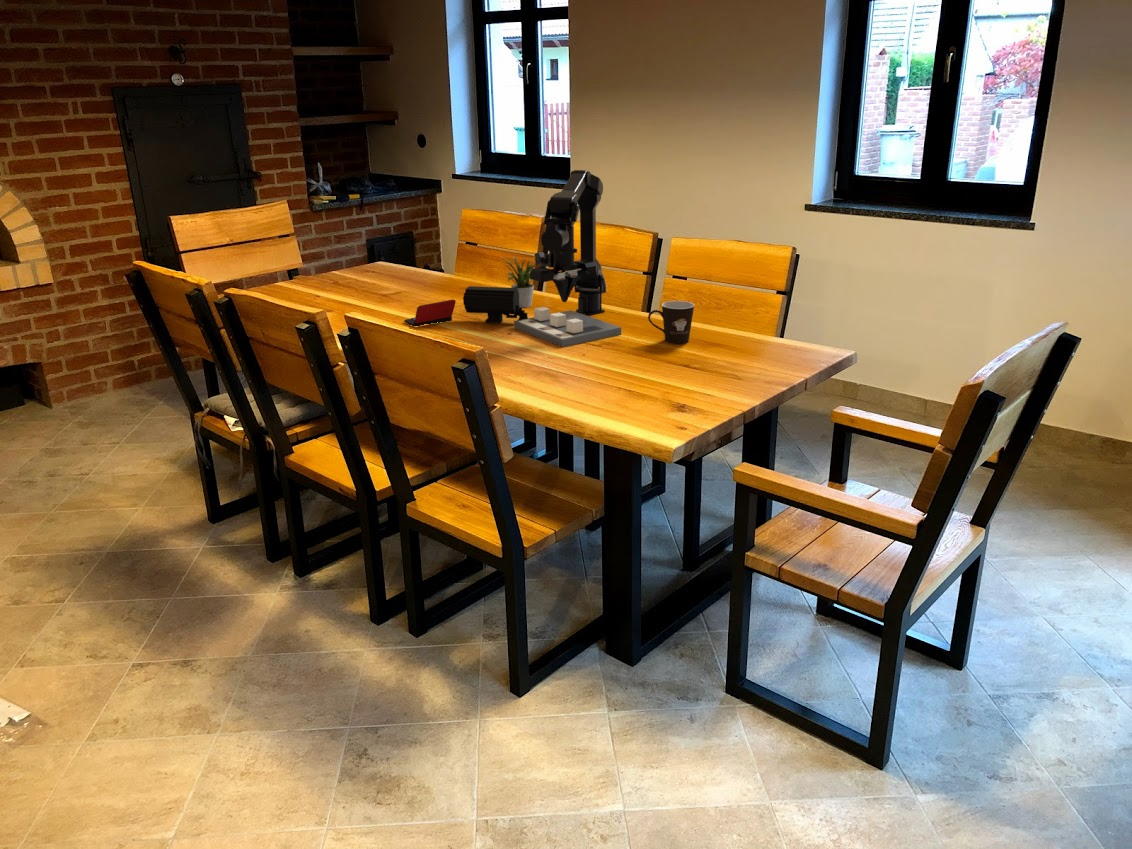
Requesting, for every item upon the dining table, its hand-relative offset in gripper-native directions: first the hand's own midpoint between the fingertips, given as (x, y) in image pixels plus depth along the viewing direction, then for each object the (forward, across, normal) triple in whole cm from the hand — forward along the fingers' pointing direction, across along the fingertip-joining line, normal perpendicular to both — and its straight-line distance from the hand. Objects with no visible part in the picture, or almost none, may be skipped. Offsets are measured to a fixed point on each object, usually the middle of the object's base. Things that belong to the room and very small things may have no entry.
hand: (564, 301), depth 247 cm
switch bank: (+10, -4, -4) cm, 11 cm away
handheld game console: (+10, +22, -37) cm, 44 cm away
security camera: (+10, +6, -25) cm, 28 cm away
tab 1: (+8, -1, -12) cm, 14 cm away
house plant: (+10, -10, -37) cm, 40 cm away
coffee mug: (+10, -20, +21) cm, 31 cm away
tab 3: (+8, -1, +4) cm, 8 cm away
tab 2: (+8, -1, -4) cm, 9 cm away
